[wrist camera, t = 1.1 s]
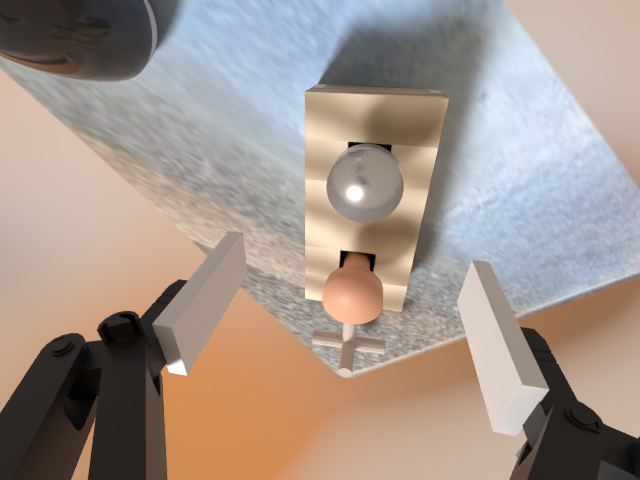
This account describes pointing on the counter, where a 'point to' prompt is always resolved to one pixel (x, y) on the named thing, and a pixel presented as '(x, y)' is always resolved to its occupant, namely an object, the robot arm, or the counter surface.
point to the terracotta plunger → (353, 291)
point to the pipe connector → (348, 346)
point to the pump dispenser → (79, 37)
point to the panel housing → (417, 167)
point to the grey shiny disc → (365, 183)
